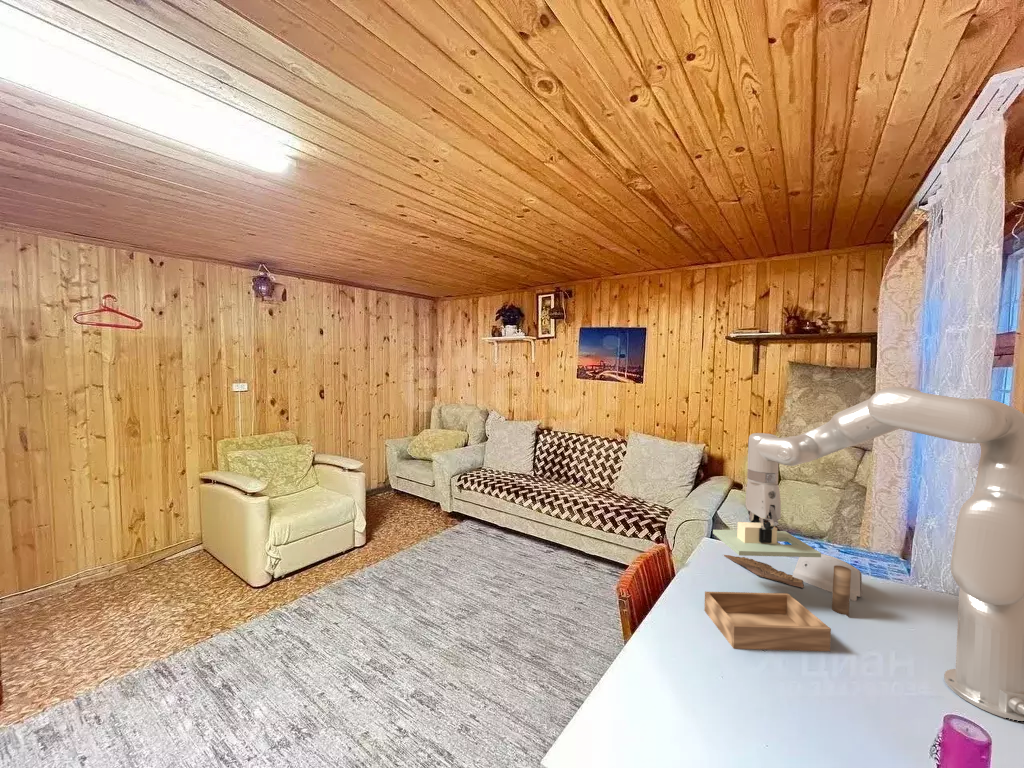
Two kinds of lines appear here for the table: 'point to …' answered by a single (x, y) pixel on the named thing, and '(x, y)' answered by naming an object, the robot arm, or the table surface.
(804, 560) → the white curved device casing
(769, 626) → the box with square hole
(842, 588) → the pin
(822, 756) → the table surface
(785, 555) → the lid
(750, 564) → the wooden fragment
